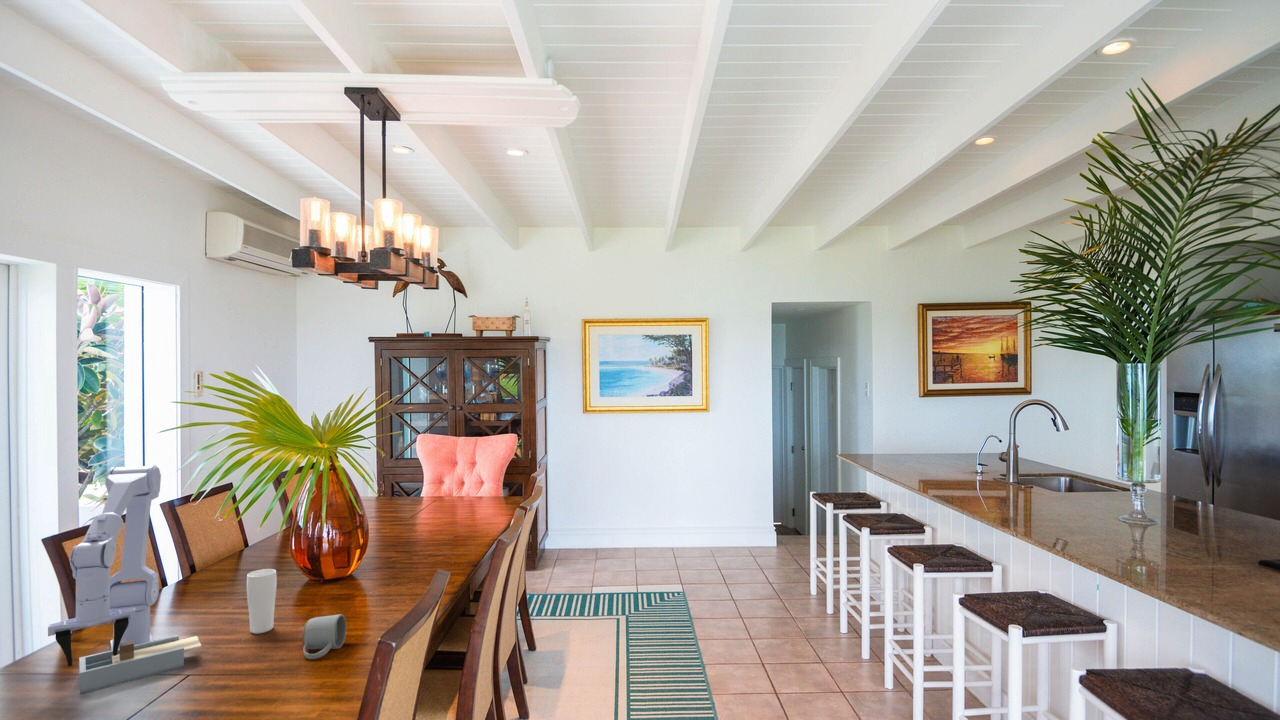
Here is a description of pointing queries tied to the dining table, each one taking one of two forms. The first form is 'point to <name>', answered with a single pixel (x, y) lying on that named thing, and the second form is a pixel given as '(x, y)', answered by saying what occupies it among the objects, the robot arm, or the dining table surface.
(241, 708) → the dining table surface
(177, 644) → the cover plate
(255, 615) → the drinking glass
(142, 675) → the box
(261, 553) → the dining table surface
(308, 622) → the ceramic mug
